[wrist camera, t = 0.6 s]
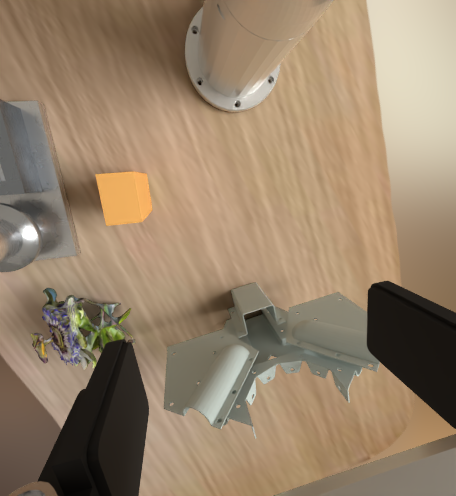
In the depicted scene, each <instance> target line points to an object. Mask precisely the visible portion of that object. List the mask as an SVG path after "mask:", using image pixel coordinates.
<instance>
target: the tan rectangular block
mask: <svg viewBox="0 0 456 496" xmlns="http://www.w3.org/2000/svg"><path fill="white" fill-rule="evenodd" d="M95 175H96V180H97V185H98V189H99V194H100V199H101V203H102V208H103V213H104V217H105V222H106V226H109V225H119V224H128V223H138V222H143V220H144V219H145V218H146V217H147V216H148V215H149V213H150V212H151V211H152V204H151V198H150V191H149V185H148V179H147V174H144V173H139V172H120V173H107V174H95Z"/></svg>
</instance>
